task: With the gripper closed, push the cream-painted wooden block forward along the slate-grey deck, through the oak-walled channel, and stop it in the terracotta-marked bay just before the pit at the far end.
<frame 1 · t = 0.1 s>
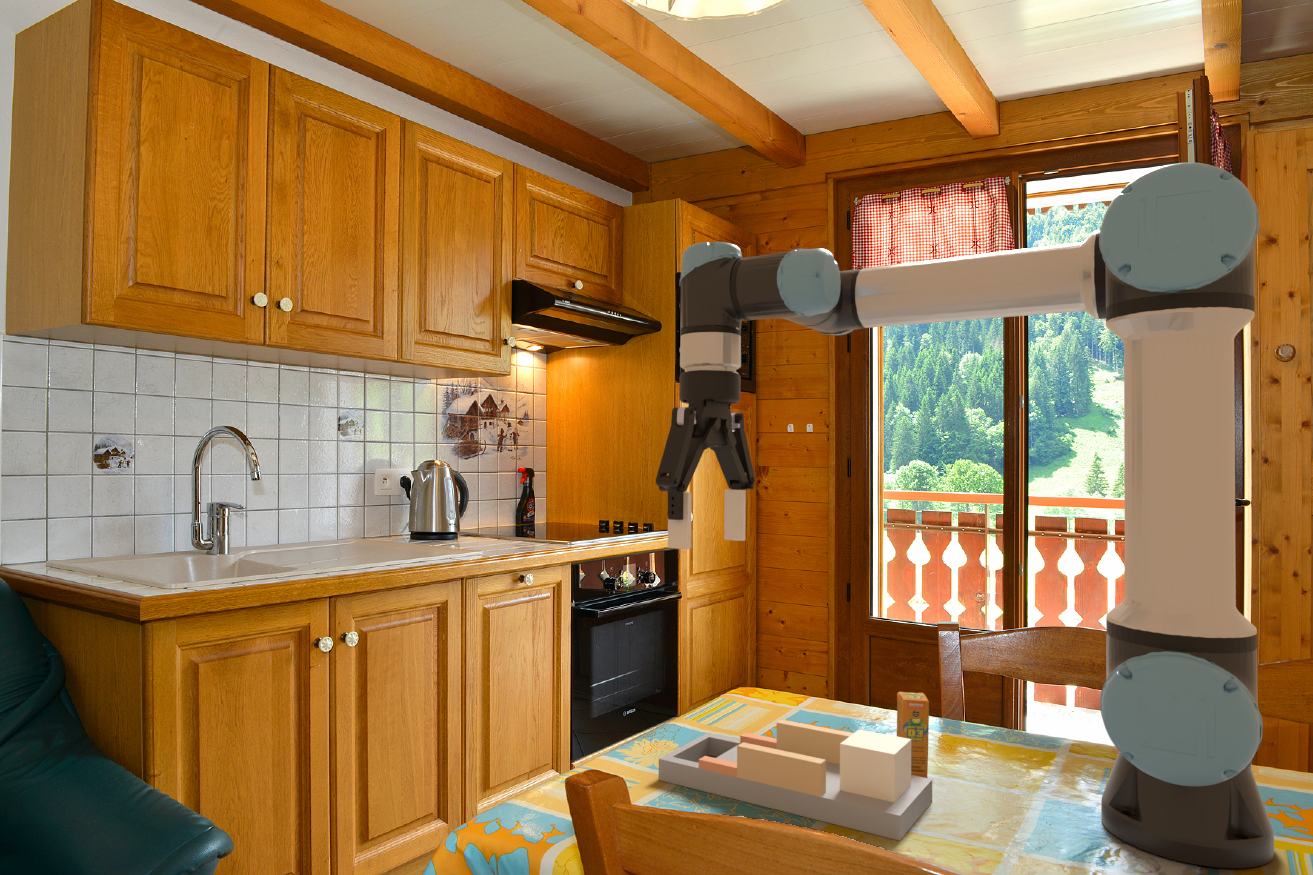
hand: (708, 544, 104), 28 cm above the table, fingers open, 13 cm apart
block: (875, 787, 93), point 2 cm above the table, touching deck
deck: (791, 790, 99), on the table
supplement box: (912, 779, 103), on the table
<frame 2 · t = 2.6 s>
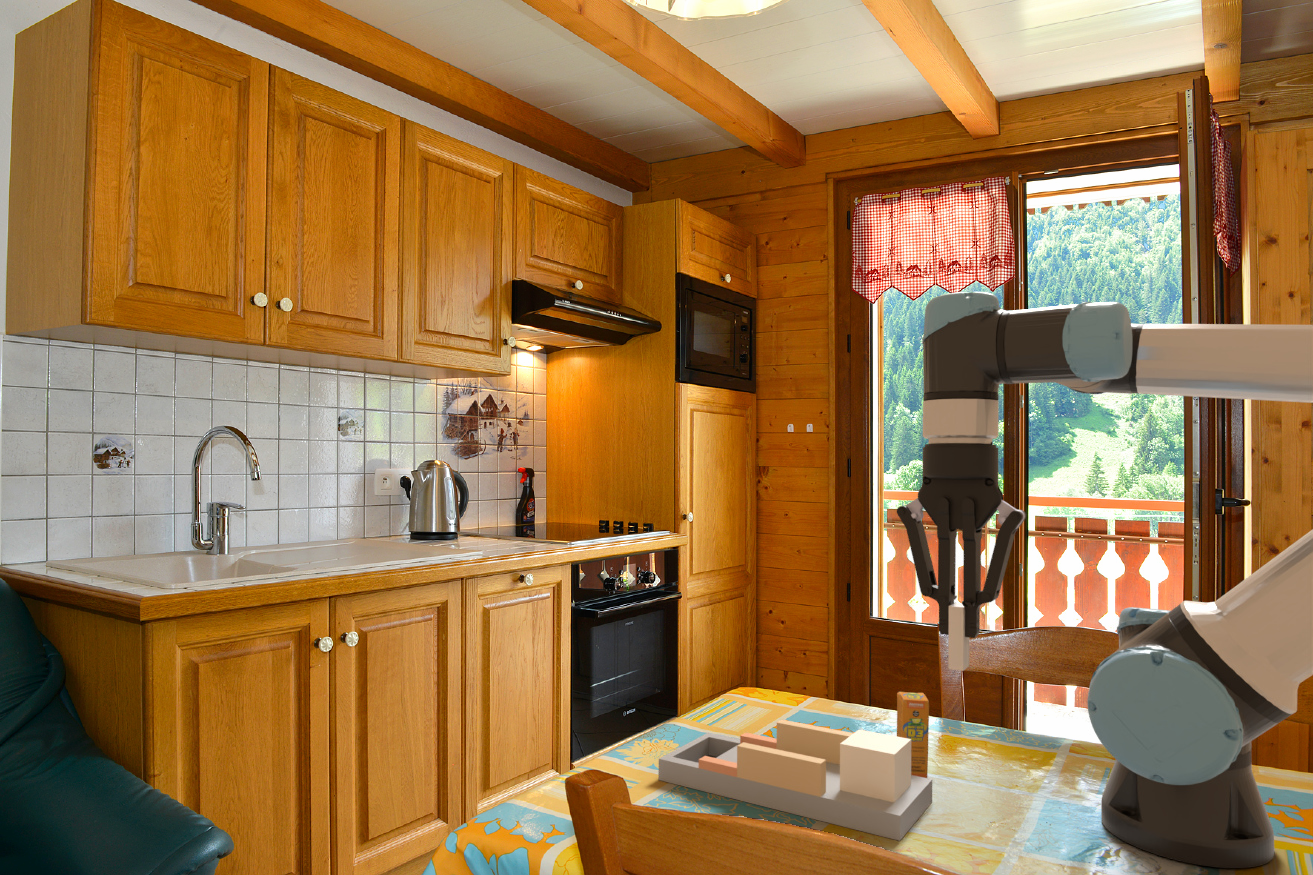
hand: (958, 667, 89), 17 cm above the table, fingers closed
nothing on the table moved.
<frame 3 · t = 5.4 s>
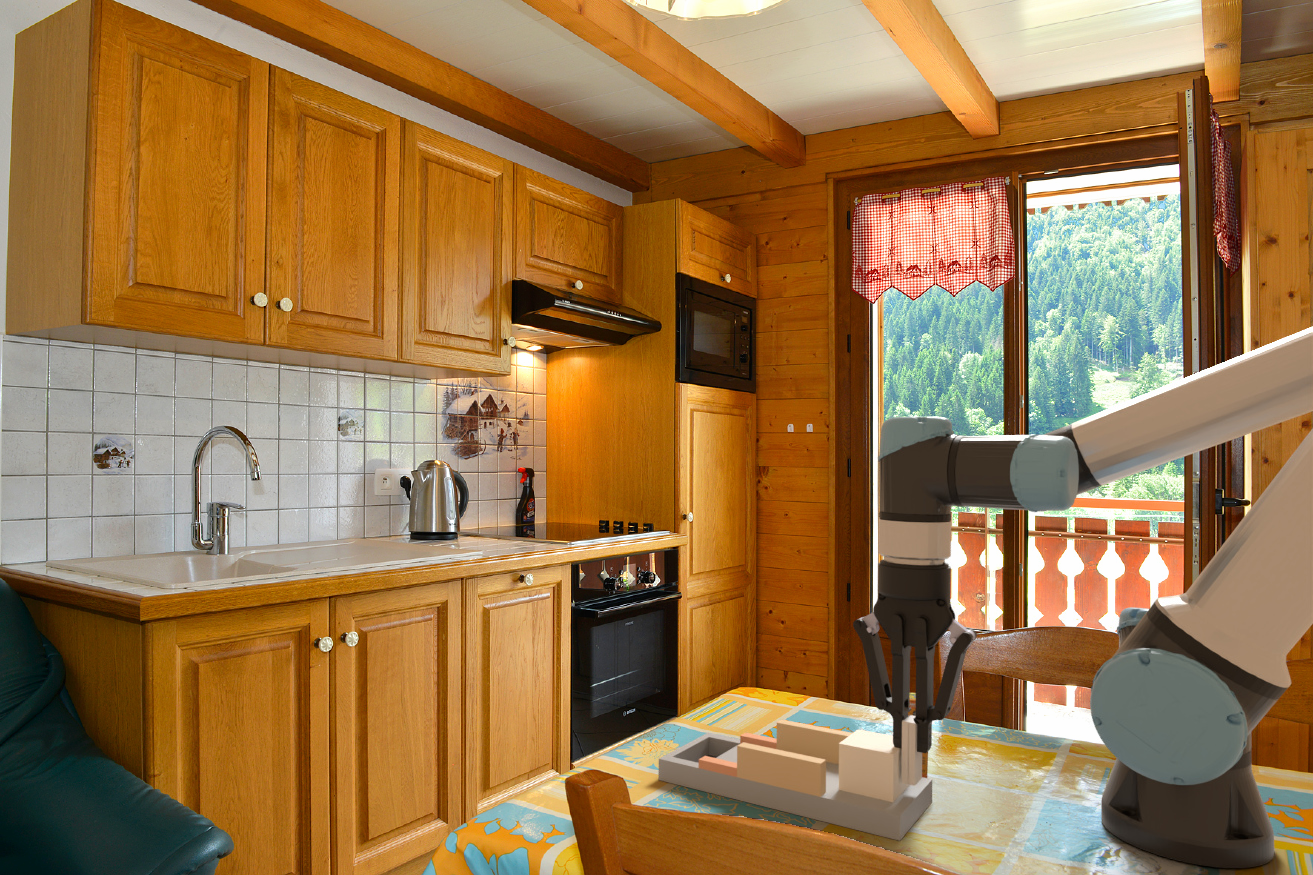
hand: (911, 779, 91), 4 cm above the table, fingers closed
nothing on the table moved.
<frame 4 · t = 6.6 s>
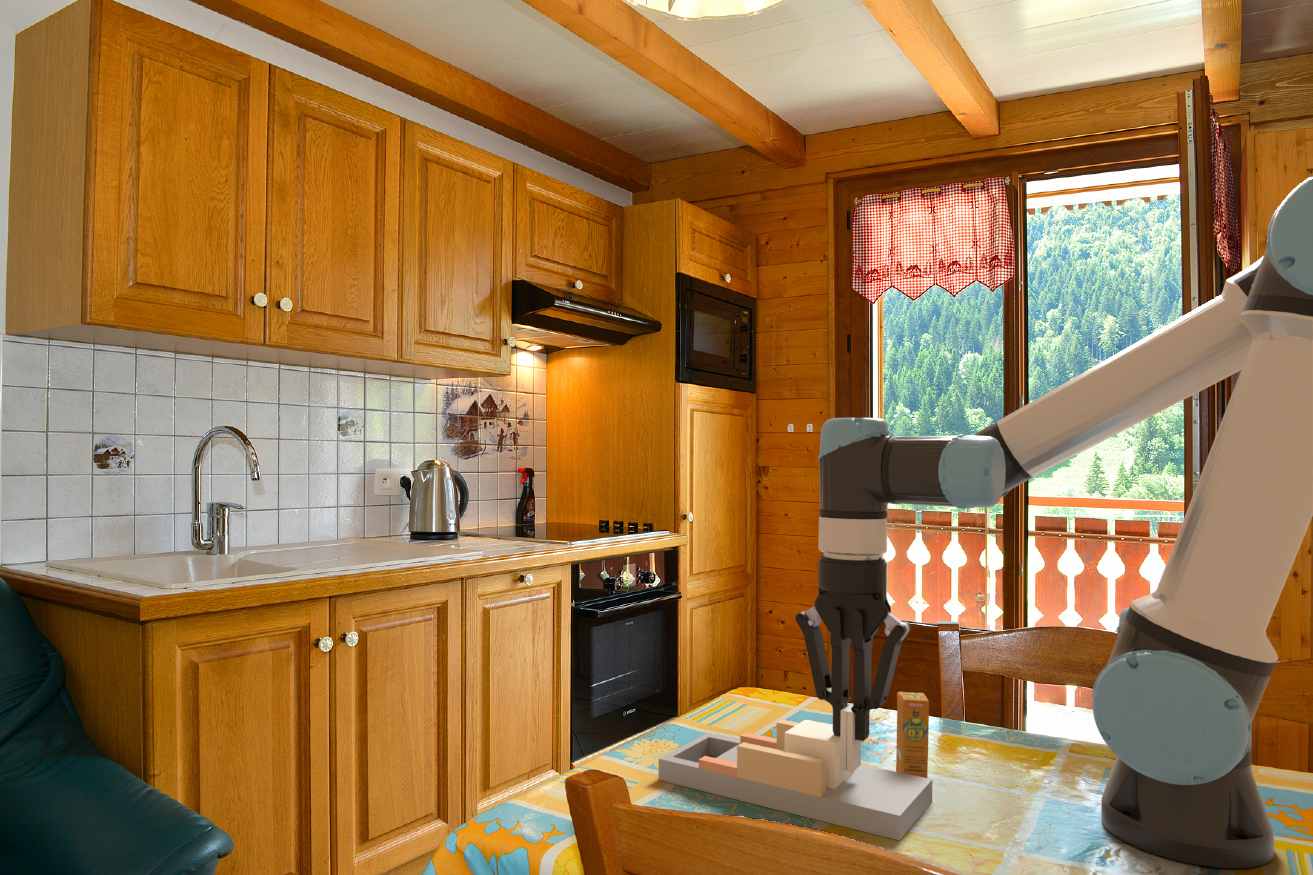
hand: (850, 766, 95), 4 cm above the table, fingers closed
block: (819, 774, 97), point 3 cm above the table, touching gripper
everything else where it was.
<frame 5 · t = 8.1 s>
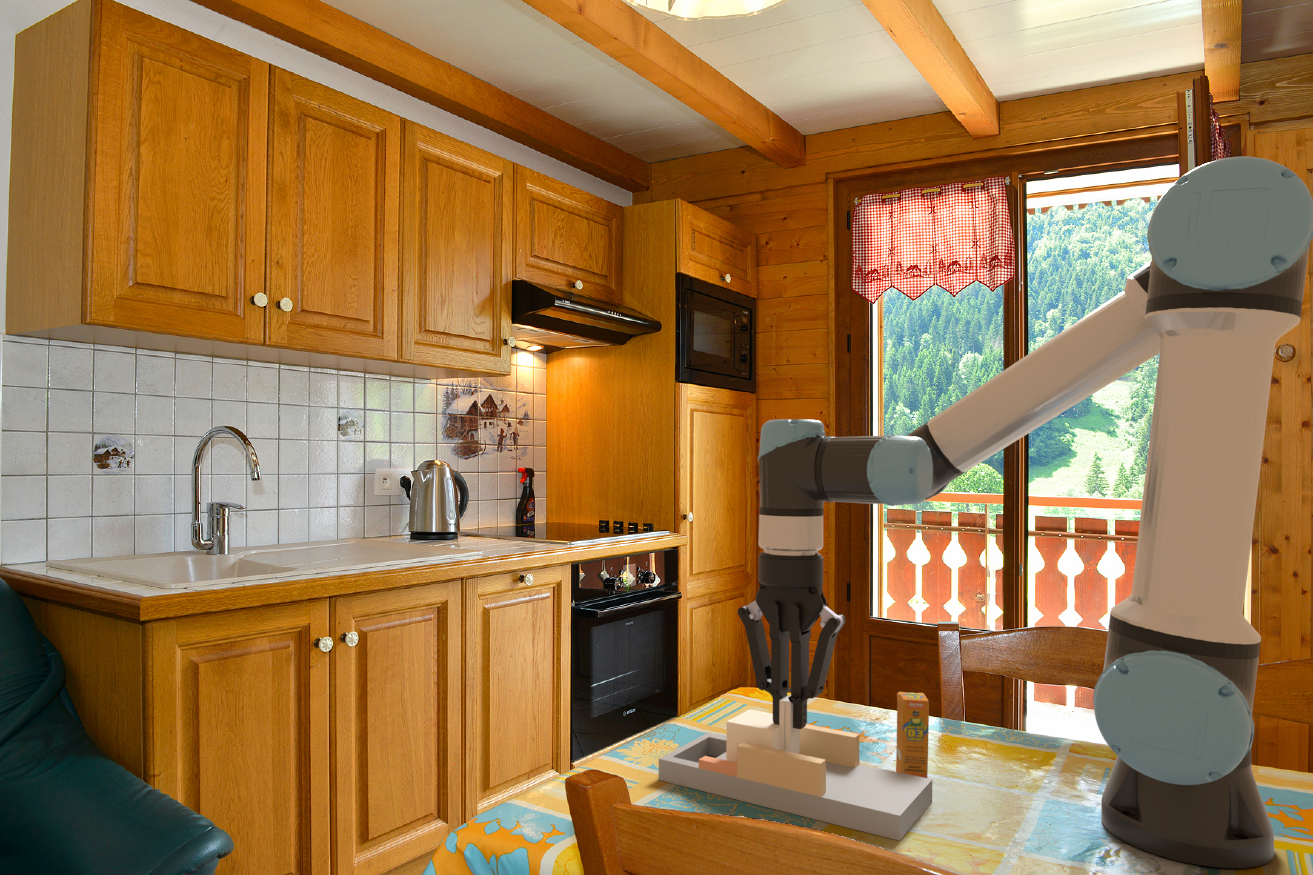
hand: (789, 754, 99), 4 cm above the table, fingers closed
block: (760, 762, 101), point 3 cm above the table, touching gripper
everything else where it was.
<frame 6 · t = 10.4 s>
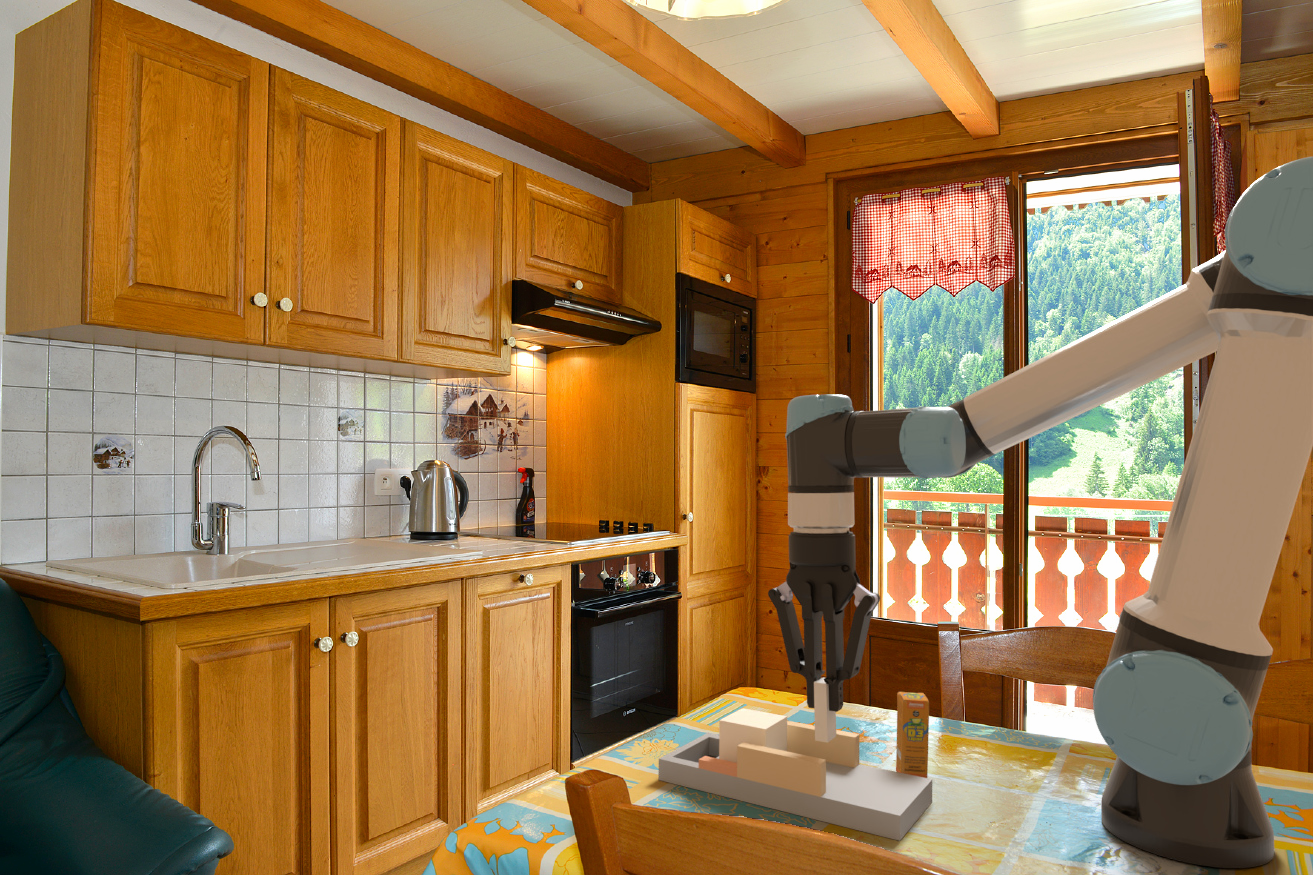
hand: (825, 738, 97), 7 cm above the table, fingers closed
block: (753, 760, 101), point 2 cm above the table, touching deck
everything else where it was.
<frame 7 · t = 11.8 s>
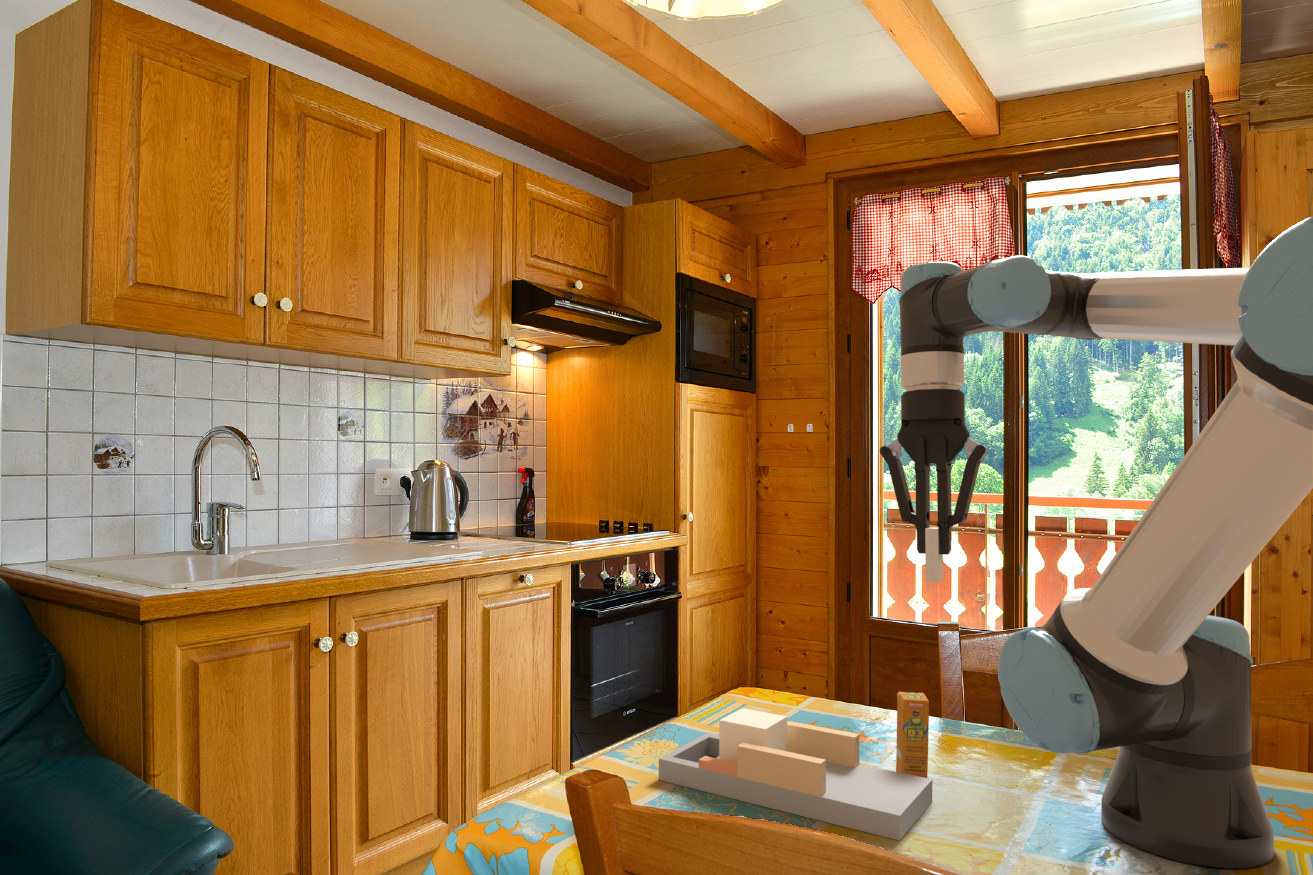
hand: (934, 580, 105), 24 cm above the table, fingers closed
nothing on the table moved.
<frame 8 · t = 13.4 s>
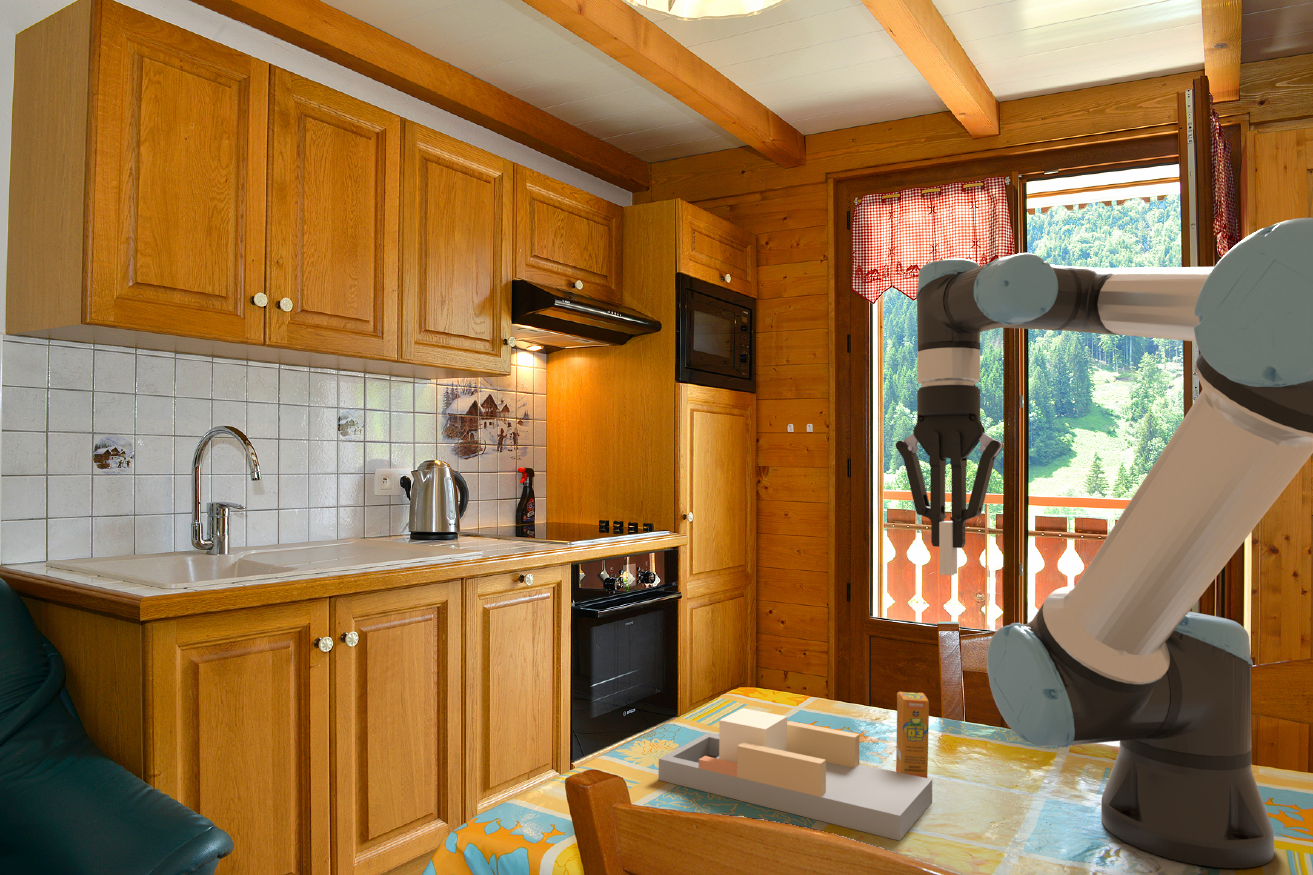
hand: (948, 573, 106), 24 cm above the table, fingers closed
nothing on the table moved.
at the end: block 1.6 cm from the target spot, point 2.5 cm above the table; block tilted 0°; block touching deck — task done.
